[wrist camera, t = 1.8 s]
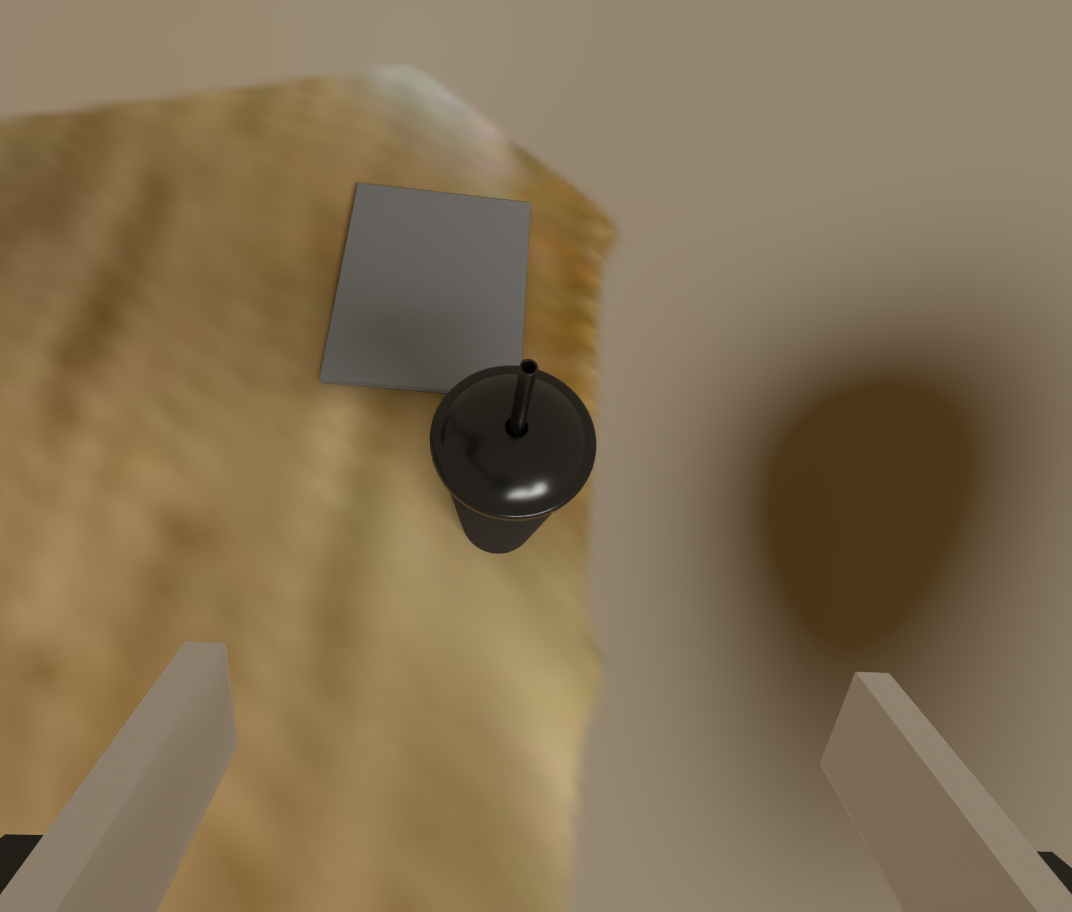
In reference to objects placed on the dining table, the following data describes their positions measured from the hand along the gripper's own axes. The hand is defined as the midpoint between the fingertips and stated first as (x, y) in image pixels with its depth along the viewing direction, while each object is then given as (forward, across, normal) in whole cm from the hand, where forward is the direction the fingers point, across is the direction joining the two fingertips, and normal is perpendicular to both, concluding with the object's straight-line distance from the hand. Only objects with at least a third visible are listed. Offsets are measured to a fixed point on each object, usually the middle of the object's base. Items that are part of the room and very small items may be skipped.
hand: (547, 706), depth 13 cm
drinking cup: (+26, 0, -10) cm, 28 cm away
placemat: (+38, -6, +3) cm, 39 cm away
